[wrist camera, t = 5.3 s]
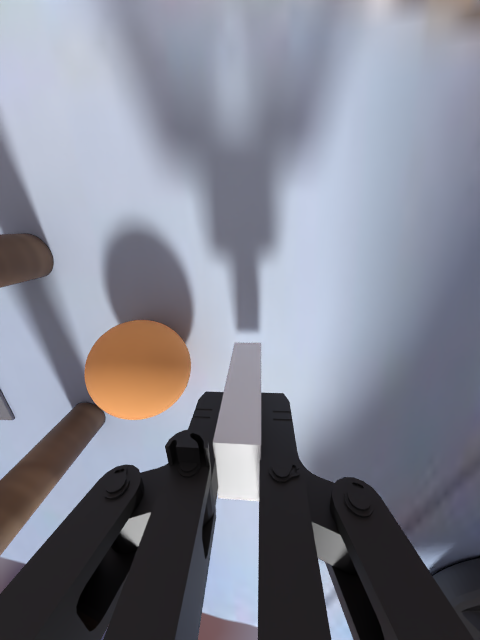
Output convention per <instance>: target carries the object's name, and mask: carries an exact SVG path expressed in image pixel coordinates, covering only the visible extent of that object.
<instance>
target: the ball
mask: <svg viewBox="0 0 480 640" xmlns="http://www.w3.org/2000/svg"><path fill="white" fill-rule="evenodd" d="M190 371H191V361H190V355H189V352H188V349H187V347H186V345H185V343H184V341H183V340H182V338H181V337H180V336H179V335H178V334H177V333H176V332H175V331H174V330H172V329H171V328H169V327H168V326H166V325H164V324H161V323H159V322H155V321H150V320H134V321H129V322H125V323H122V324H119V325H117V326H115V327H113V328H111V329H110V330H108V331H107V332H106V333H104V334H103V335H102V336H101V337H100V338H99V339H98V340H97V341H96V343H95V344H94V345H93V347H92V349H91V351H90V353H89V355H88V357H87V360H86V364H85V374H84V375H85V383H86V387H87V390H88V393H89V394H90V396H91V398H92V400H93V401H94V402H95V403H96V405H98V406H99V407H100V408H101V409H102V410H103V411H105V412H107V413H108V414H110V415H112V416H115V417H118V418H122V419H128V420H140V419H146V418H149V417H153V416H155V415H158V414H160V413H162V412H163V411H165V410H167V409H168V408H169V407H170V406H172V405H173V404H174V403H175V402H176V401H177V400H178V399H179V397H180V396H181V395H182V393H183V392H184V390H185V388H186V386H187V383H188V380H189V377H190Z"/></svg>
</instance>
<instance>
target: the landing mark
mask: <svg viewBox="0 0 480 640" xmlns="http://www.w3.org/2000/svg"><path fill="white" fill-rule="evenodd" d="M14 419H15V417H14V416H13V414H12V412H11V410H10V408H9V406H8V404H7V402H6V400H5V398H4V396H3V394H2V393H1V391H0V420H14Z"/></svg>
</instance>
